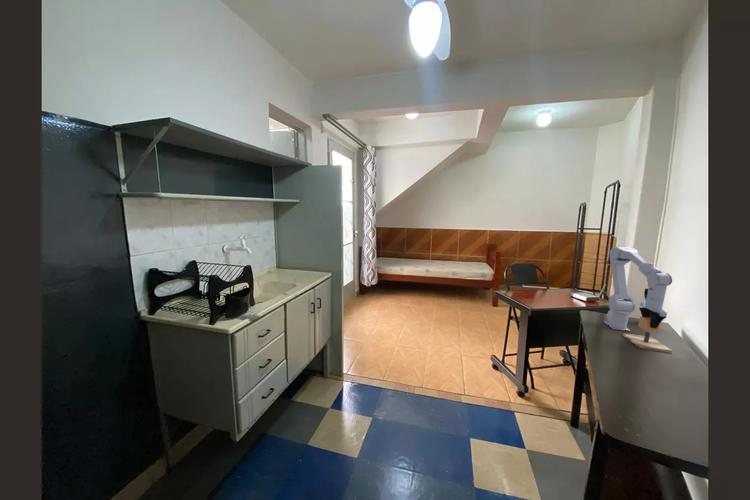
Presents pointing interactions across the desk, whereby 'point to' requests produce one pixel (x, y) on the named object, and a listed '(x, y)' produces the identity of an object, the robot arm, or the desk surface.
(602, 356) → the desk surface
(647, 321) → the square collar
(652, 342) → the post board
